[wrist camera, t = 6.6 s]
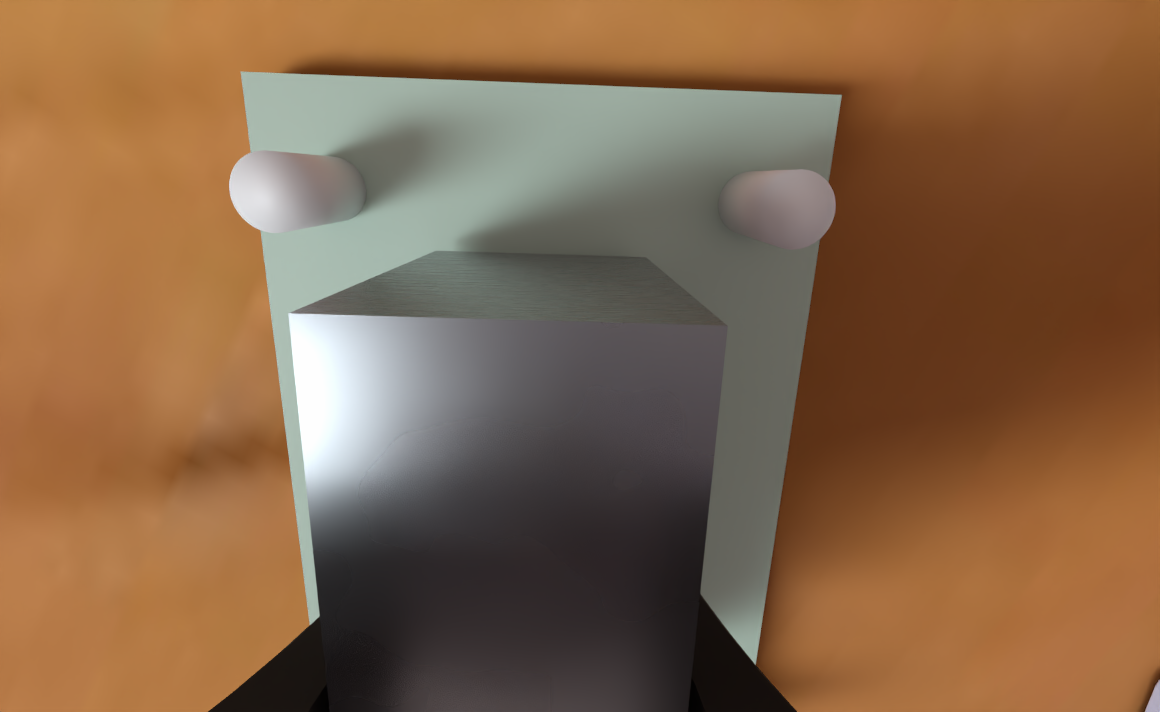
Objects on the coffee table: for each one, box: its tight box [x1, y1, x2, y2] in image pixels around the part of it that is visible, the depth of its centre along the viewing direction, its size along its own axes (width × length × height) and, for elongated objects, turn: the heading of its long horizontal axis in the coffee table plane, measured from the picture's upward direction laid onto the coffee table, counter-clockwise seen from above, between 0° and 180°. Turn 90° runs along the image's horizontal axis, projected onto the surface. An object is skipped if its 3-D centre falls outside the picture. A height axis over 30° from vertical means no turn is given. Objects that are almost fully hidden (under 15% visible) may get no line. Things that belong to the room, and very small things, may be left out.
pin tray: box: [229, 72, 842, 665], centre depth 13 cm, size 11×18×4 cm, turn 178°
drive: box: [288, 251, 728, 712], centre depth 10 cm, size 4×10×6 cm, turn 178°
